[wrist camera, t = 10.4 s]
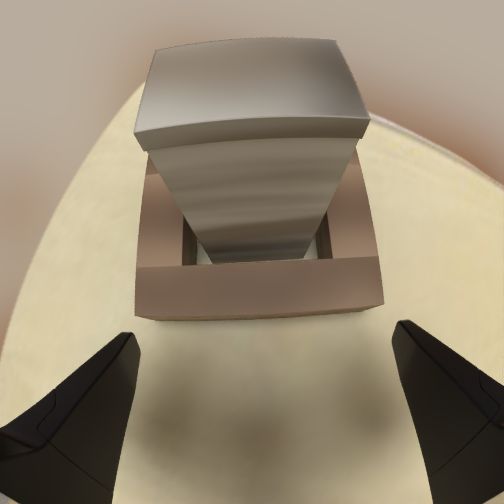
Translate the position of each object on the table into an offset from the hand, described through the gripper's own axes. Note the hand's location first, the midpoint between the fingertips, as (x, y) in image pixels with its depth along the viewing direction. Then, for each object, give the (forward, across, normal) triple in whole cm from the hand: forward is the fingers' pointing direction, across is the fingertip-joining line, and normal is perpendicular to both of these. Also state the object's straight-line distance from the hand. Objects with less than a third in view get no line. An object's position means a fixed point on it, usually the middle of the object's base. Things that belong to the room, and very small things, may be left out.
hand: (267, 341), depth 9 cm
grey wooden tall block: (+10, 0, +1) cm, 10 cm away
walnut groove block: (+10, 0, +1) cm, 10 cm away
